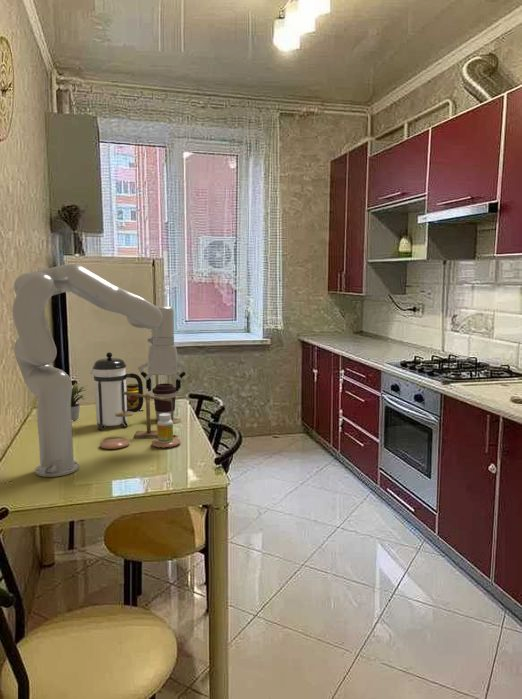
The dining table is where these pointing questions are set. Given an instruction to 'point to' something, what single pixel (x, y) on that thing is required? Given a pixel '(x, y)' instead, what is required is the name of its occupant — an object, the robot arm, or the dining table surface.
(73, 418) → the house plant
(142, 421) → the dining table surface
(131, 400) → the condiment
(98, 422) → the coffee press
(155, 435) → the balance
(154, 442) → the tan flat disc
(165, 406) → the coffee cup
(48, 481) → the dining table surface
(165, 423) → the supplement bottle
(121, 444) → the pink disc
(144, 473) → the dining table surface
